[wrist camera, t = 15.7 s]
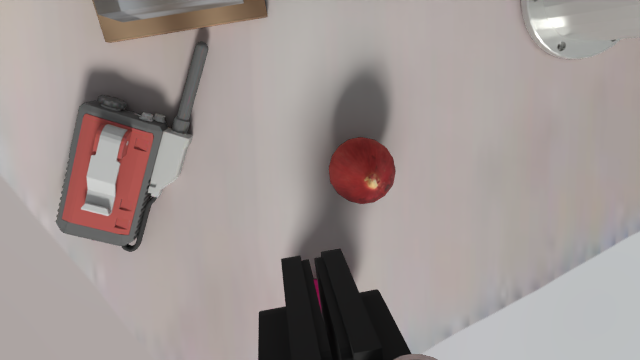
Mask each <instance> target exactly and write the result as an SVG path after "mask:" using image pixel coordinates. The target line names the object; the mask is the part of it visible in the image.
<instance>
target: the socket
mask: <svg viewBox="0 0 640 360" xmlns="http://www.w3.org/2000/svg"><path fill="white" fill-rule="evenodd" d="M92 1H93V4H94V7H95V10H96V13H97V16H98V20H99V23H100V26H101V29H102V32H103V35H104V38H105V41H106V42H109V43H112V42H118V41H124V40H130V39H136V38H142V37H148V36H154V35H161V34H167V33H173V32H179V31H185V30H191V29H197V28H203V27H210V26H216V25H222V24H228V23H234V22H240V21H246V20H253V19H259V18H265V17H267V11H266V5H265V0H92Z"/></svg>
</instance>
